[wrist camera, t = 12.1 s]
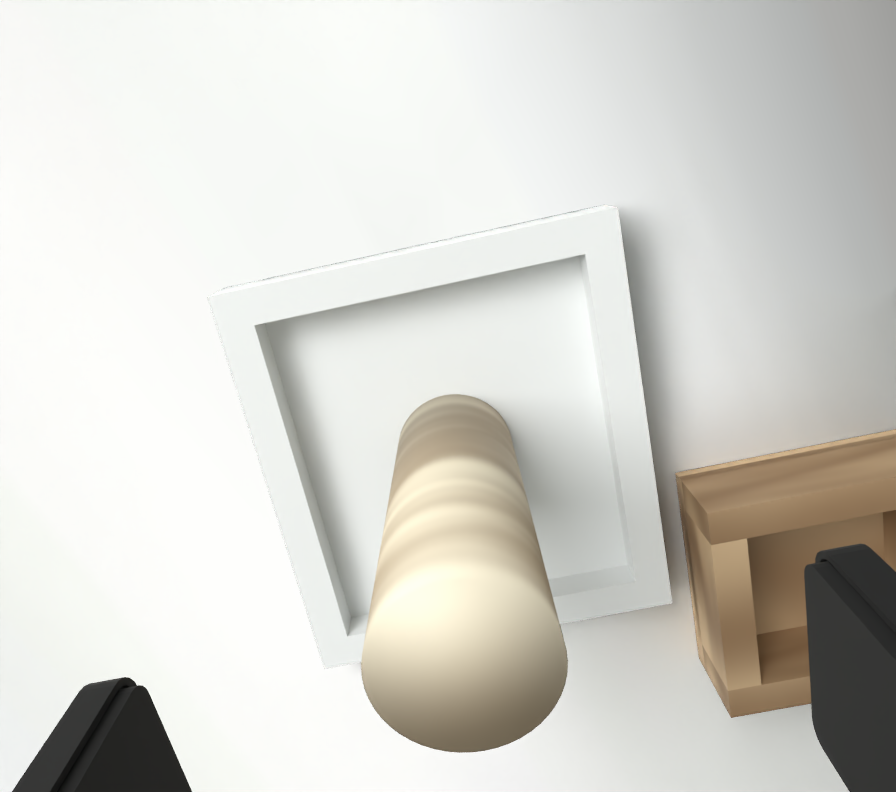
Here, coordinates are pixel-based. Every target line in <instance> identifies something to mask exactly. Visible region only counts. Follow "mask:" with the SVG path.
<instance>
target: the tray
mask: <svg viewBox="0 0 896 792" xmlns="http://www.w3.org/2000/svg"><path fill="white" fill-rule="evenodd" d="M207 298H208V301H209V305H210V308H211V311H212V314H213V317H214V320H215V324H216V327H217V330H218V333H219V336H220V340H221V343H222V346H223V349H224V352H225V355H226V359H227V362H228V365H229V368H230V371H231V374H232V378H233V381H234V384H235V387H236V390H237V393H238V397H239V400H240V403H241V406H242V409H243V412H244V416H245V419H246V422H247V425H248V428H249V431H250V435H251V438H252V441H253V444H254V447H255V450H256V454H257V457H258V460H259V463H260V466H261V469H262V473H263V476H264V479H265V482H266V485H267V488H268V492H269V495H270V498H271V501H272V504H273V508H274V511H275V514H276V517H277V520H278V523H279V527H280V530H281V533H282V536H283V539H284V542H285V546H286V549H287V552H288V555H289V558H290V561H291V565H292V568H293V571H294V574H295V577H296V580H297V584H298V587H299V590H300V593H301V596H302V599H303V603H304V606H305V609H306V612H307V615H308V618H309V622H310V625H311V628H312V631H313V634H314V637H315V641H316V644H317V647H318V650H319V653H320V656H321V660H322V663H323V666H324V669H327V668H332V667H338V666H343V665H348V664H354V663H359V662H361V660H362V651H363V646H364V640H365V634H366V628H367V622H368V617H369V611H370V605H371V599H372V593H373V588H374V582H375V576H376V570H377V565H378V559H379V553H380V547H381V541H382V536H383V530H384V524H385V518H386V512H387V507H388V501H389V495H390V489H391V483H392V478H393V472H394V466H395V460H396V454H397V449H398V443H399V438H400V434H401V431H402V428H403V426H404V424H405V422H406V420H407V419H408V418H409V416H410V415H411V414H412V413H413V412H414V411H415V410H416V409H417V408H418V407H419V406H421V405H422V404H423V403H425V402H427V401H429V400H431V399H433V398H436V397H439V396H443V395H450V394H461V395H468V396H472V397H475V398H478V399H480V400H482V401H484V402H486V403H488V404H489V405H490V406H492V407H493V408H494V409H495V410H496V411H497V412H498V413H499V414H500V415H501V416H502V418H503V419H504V421H505V422H506V424H507V426H508V429H509V431H510V435H511V439H512V442H513V446H514V450H515V454H516V458H517V462H518V465H519V469H520V473H521V477H522V481H523V485H524V489H525V492H526V496H527V500H528V504H529V508H530V512H531V516H532V519H533V523H534V527H535V531H536V535H537V539H538V542H539V546H540V550H541V554H542V558H543V562H544V566H545V569H546V573H547V577H548V581H549V585H550V589H551V593H552V596H553V600H554V604H555V608H556V612H557V616H558V620H559V623H560V625H561V624H566V623H571V622H577V621H582V620H587V619H592V618H598V617H603V616H608V615H614V614H619V613H624V612H630V611H635V610H640V609H645V608H651V607H656V606H661V605H667V604H672V596H671V588H670V581H669V574H668V567H667V560H666V552H665V545H664V538H663V531H662V523H661V516H660V509H659V502H658V494H657V487H656V480H655V473H654V465H653V458H652V451H651V444H650V436H649V429H648V422H647V415H646V407H645V400H644V393H643V386H642V378H641V371H640V364H639V357H638V350H637V342H636V335H635V328H634V321H633V313H632V306H631V299H630V292H629V284H628V277H627V270H626V263H625V255H624V248H623V241H622V234H621V226H620V219H619V212H618V207H614V206H608V205H601V206H596V207H592V208H587V209H583V210H578V211H573V212H569V213H564V214H560V215H555V216H551V217H546V218H541V219H537V220H532V221H528V222H523V223H519V224H514V225H510V226H505V227H500V228H496V229H491V230H487V231H482V232H478V233H473V234H468V235H464V236H459V237H455V238H450V239H446V240H441V241H436V242H432V243H427V244H423V245H418V246H414V247H409V248H404V249H400V250H395V251H391V252H386V253H382V254H377V255H373V256H368V257H363V258H359V259H354V260H350V261H345V262H341V263H336V264H331V265H327V266H322V267H318V268H313V269H309V270H304V271H299V272H295V273H290V274H286V275H281V276H277V277H272V278H267V279H263V280H258V281H254V282H249V283H245V284H240V285H235V286H231V287H226V288H223V289H221V290H220V291H218V292H216V293H214V294H212V295H210V296H208V297H207Z"/></svg>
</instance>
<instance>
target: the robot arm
mask: <svg viewBox="0 0 896 792" xmlns="http://www.w3.org/2000/svg"><path fill="white" fill-rule="evenodd" d="M804 580H805V598H806V616H807V634H808V652H809V670H810V687H811V705H812V719H813V725H814V729H815V732H816V735H817V738H818V740H819V742H820V744H821V746H822V748H823V750H824V752H825V753H826V755H827V756H828V758H829V759H830V761H831V763H832V764H833V766H834V767H835V769H836V771H837V772H838V774H839V775H840V777H841V779H842V780H843V782H844V783H845V785H846V787H847V788H848V790H849V791H850V792H896V571H895V570H893V569H892V568H891V567H890V566H889V565H888V564H887V563H886V562H885V561H884V560H883V559H882V558H881V557H880V556H879V555H878V554H876V553H875V552H874V551H873V550H872V549H871V548H870V547H868V546H867V545H866V544H855V545H850V546H844V547H839V548H833V549H828V550H822V551H819V552H818V553H817V555H816V558H815V563H813V564H808V565H806V567H805V569H804ZM12 792H192V791H191V788H190V786H189V784H188V782H187V779H186V777H185V775H184V772H183V770H182V768H181V766H180V763H179V761H178V759H177V756H176V754H175V752H174V750H173V747H172V745H171V743H170V740H169V738H168V736H167V734H166V731H165V729H164V727H163V724H162V722H161V720H160V718H159V715H158V713H157V711H156V708H155V706H154V704H153V702H152V699H151V697H150V695H149V693H148V691H147V689H146V688H145V687H144V686H137V685H136V683H135V682H134V681H133V680H132V679H130V678H126V677H124V678H119V679H113V680H108V681H102V682H97V683H91V684H88V685H86V686H84V687H83V688H82V689H81V690H80V691H79V693H78V694H77V696H76V697H75V699H74V700H73V702H72V703H71V705H70V706H69V708H68V709H67V711H66V712H65V714H64V715H63V717H62V718H61V720H60V721H59V723H58V724H57V726H56V727H55V729H54V730H53V732H52V733H51V734H50V736H49V737H48V739H47V740H46V742H45V743H44V745H43V746H42V748H41V749H40V751H39V752H38V754H37V755H36V757H35V758H34V760H33V761H32V763H31V764H30V766H29V767H28V769H27V770H26V772H25V773H24V775H23V776H22V778H21V779H20V781H19V782H18V784H17V785H16V787H15V788H14V790H13V791H12Z"/></svg>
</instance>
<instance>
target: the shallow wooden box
mask: <svg viewBox="0 0 896 792" xmlns="http://www.w3.org/2000/svg"><path fill="white" fill-rule="evenodd" d="M675 475H676V482H677V490H678V498H679V506H680V513H681V521H682V529H683V537H684V545H685V552H686V560H687V568H688V576H689V583H690V591H691V599H692V607H693V614H694V622H695V630H696V638H697V646H698V653H699V659H700V661H701V663H702V664H703V666H704V668H705V670H706V672H707V674H708V676H709V677H710V679H711V681H712V683H713V685H714V687H715V689H716V690H717V692H718V694H719V696H720V698H721V700H722V702H723V704H724V705H725V707H726V709H727V711H728V713H729V715H730V717H731V718H733V717H738V716H744V715H749V714H755V713H761V712H766V711H772V710H777V709H783V708H788V707H794V706H800V705H805V704H811V687H810V670H809V652H808V634H807V616H806V598H805V580H804V569H805V567H806V565H808V564H813V563H815V558H816V555H817V553H818V552H819V551H822V550H828V549H833V548H839V547H844V546H850V545H855V544H866V545H867V546H868V547H870V548H871V549H872V550H873V551H874V552H875V553H876V554H878V555H879V556H880V557H881V558H882V559H883V560H884V561H885V562H886V563H887V564H888V565H889V566H890V567H891V568H892V569H893V570H895V571H896V429H895V430H890V431H885V432H880V433H875V434H870V435H865V436H860V437H854V438H849V439H844V440H839V441H834V442H829V443H824V444H819V445H814V446H809V447H804V448H799V449H794V450H789V451H784V452H779V453H774V454H769V455H764V456H759V457H753V458H748V459H743V460H738V461H733V462H728V463H723V464H718V465H713V466H708V467H703V468H698V469H693V470H688V471H683V472H678V473H675Z"/></svg>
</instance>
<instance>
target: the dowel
mask: <svg viewBox="0 0 896 792" xmlns="http://www.w3.org/2000/svg"><path fill="white" fill-rule="evenodd" d="M567 667H568V659H567V651H566V646H565V643H564V639H563V635H562V631H561V627H560V623H559V620H558V616H557V612H556V608H555V604H554V600H553V596H552V593H551V589H550V585H549V581H548V577H547V573H546V569H545V566H544V562H543V558H542V554H541V550H540V546H539V542H538V539H537V535H536V531H535V527H534V523H533V519H532V516H531V512H530V508H529V504H528V500H527V496H526V492H525V489H524V485H523V481H522V477H521V473H520V469H519V465H518V462H517V458H516V454H515V450H514V446H513V442H512V439H511V435H510V431H509V429H508V426H507V424H506V422H505V421H504V419H503V418H502V416H501V415H500V414H499V413H498V412H497V411H496V410H495V409H494V408H493V407H492V406H490V405H489V404H488V403H486V402H484V401H482V400H480V399H478V398H475V397H472V396H468V395H461V394H450V395H443V396H439V397H436V398H433V399H431V400H429V401H427V402H425V403H423V404H422V405H421V406H419V407H418V408H417V409H416V410H415V411H414V412H413V413H412V414H411V415H410V416H409V418H408V419H407V420H406V422H405V424H404V426H403V428H402V431H401V434H400V438H399V443H398V449H397V454H396V460H395V466H394V472H393V478H392V483H391V489H390V495H389V501H388V507H387V512H386V518H385V524H384V530H383V536H382V541H381V547H380V553H379V559H378V565H377V570H376V576H375V582H374V588H373V593H372V599H371V605H370V611H369V617H368V622H367V628H366V634H365V640H364V646H363V651H362V660H361V672H362V680H363V684H364V688H365V691H366V693H367V696H368V698H369V700H370V702H371V704H372V706H373V707H374V709H375V710H376V712H377V713H378V714H379V715H380V717H381V718H382V719H383V720H384V721H385V722H386V723H387V724H388V725H389V726H390V727H391V728H393V729H394V730H395V731H397V732H398V733H399V734H401V735H403V736H404V737H406V738H408V739H409V740H411V741H414V742H416V743H418V744H420V745H423V746H426V747H430V748H433V749H437V750H442V751H449V752H477V751H485V750H489V749H494V748H498V747H500V746H503V745H506V744H509V743H511V742H513V741H515V740H517V739H519V738H521V737H523V736H524V735H526V734H528V733H529V732H531V731H532V730H533V729H534V728H536V727H537V726H538V725H539V724H541V722H542V721H543V720H544V719H545V718H546V717H547V716H548V715H549V714H550V712H551V711H552V710H553V708H554V707H555V705H556V704H557V702H558V700H559V698H560V696H561V694H562V691H563V688H564V686H565V682H566V677H567Z"/></svg>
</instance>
